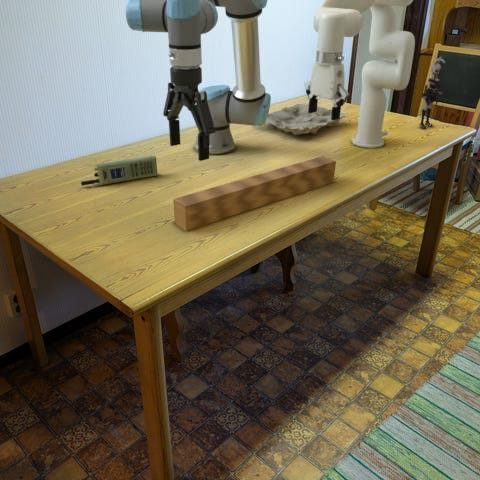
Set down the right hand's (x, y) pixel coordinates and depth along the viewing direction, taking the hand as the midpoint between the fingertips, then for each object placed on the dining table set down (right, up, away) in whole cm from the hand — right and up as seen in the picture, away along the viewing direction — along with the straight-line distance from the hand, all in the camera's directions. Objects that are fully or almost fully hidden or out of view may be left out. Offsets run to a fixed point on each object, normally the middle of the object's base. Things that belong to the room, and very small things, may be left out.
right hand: (323, 115), depth 156 cm
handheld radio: (-65, -19, +10) cm, 69 cm away
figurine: (+56, +12, +67) cm, 88 cm away
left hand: (-39, -16, -26) cm, 49 cm away
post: (-19, -26, -2) cm, 33 cm away
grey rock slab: (0, +11, +65) cm, 66 cm away
